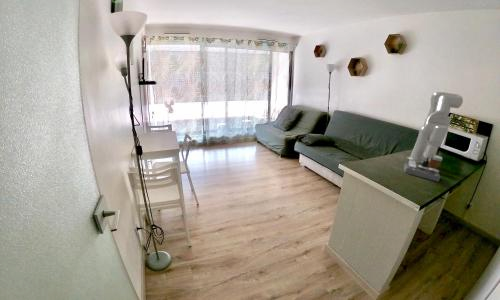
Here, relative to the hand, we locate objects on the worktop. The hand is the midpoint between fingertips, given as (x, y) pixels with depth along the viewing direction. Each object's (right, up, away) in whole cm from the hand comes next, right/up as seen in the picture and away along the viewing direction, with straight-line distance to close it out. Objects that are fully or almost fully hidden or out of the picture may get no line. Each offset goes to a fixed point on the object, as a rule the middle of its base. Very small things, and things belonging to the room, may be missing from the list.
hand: (424, 166), depth 168 cm
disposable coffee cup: (+17, -4, +17) cm, 25 cm away
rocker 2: (+1, -1, +4) cm, 4 cm away
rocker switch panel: (+2, -6, +7) cm, 10 cm away
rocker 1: (-4, +1, +6) cm, 8 cm away
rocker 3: (+7, -3, +1) cm, 8 cm away
